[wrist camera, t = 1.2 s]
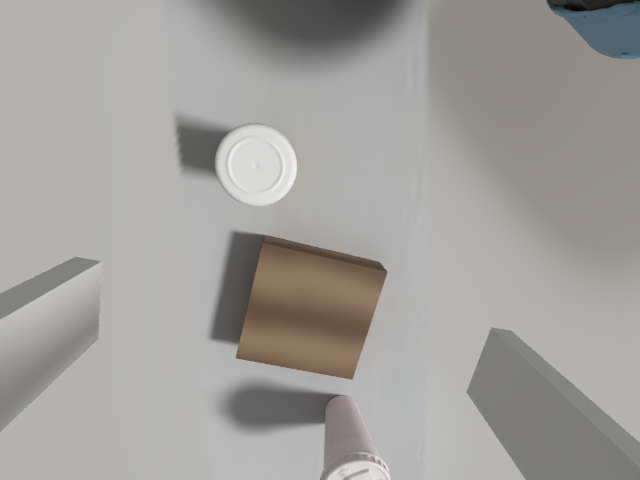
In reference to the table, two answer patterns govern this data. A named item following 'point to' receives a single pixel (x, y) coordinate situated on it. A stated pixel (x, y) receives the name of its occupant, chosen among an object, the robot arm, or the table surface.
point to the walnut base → (310, 308)
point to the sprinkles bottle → (255, 164)
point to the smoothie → (349, 445)
